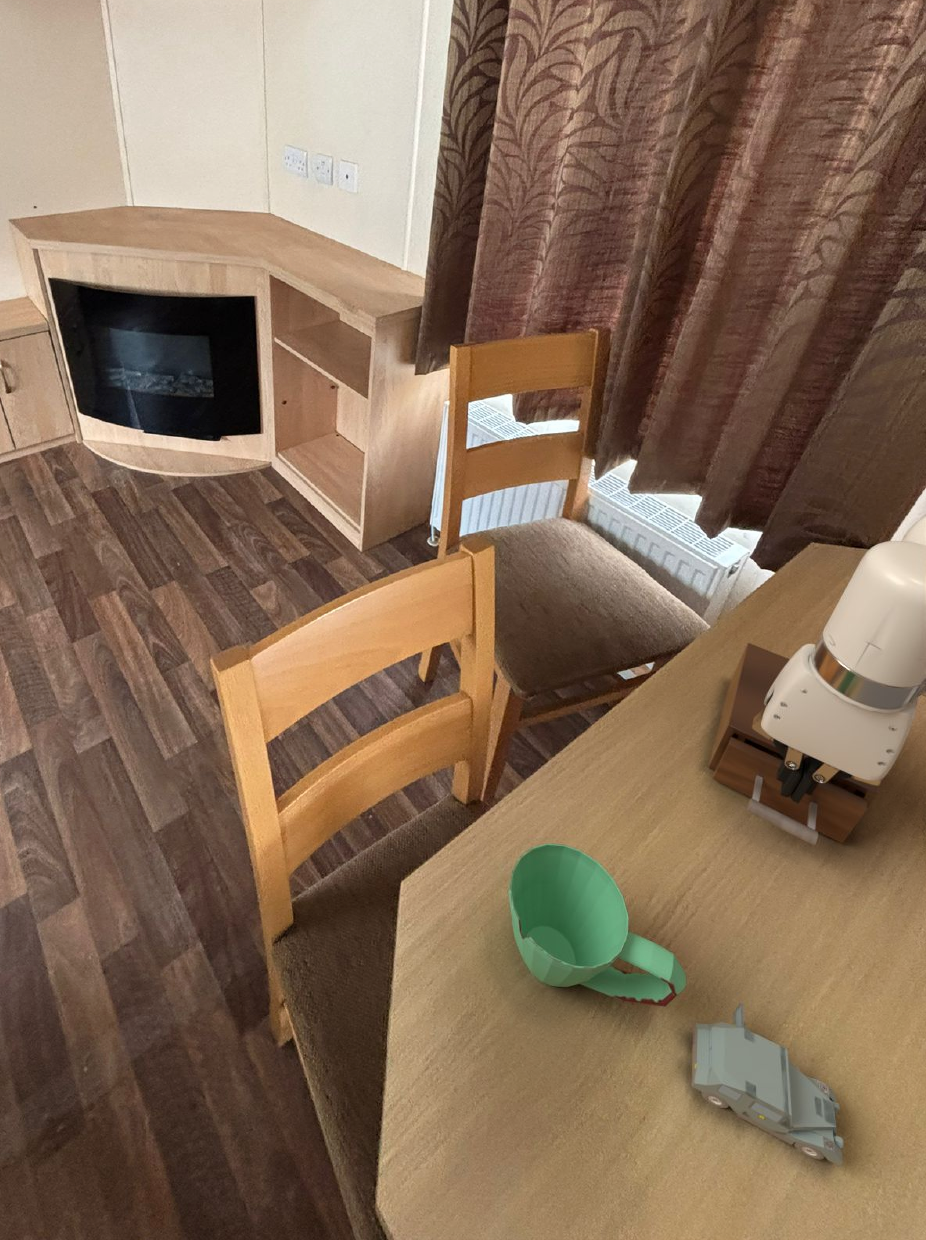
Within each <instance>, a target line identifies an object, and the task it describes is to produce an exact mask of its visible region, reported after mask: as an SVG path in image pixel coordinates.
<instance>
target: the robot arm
mask: <svg viewBox="0 0 926 1240" xmlns="http://www.w3.org/2000/svg"><path fill="white" fill-rule="evenodd" d="M789 659H790V660H789V661H788V663H787V664H786V665H785V666H784V668H783V669H782V671H781V672H780V673H779V675H778V677H777V678H776V680H775V681H774V683H773V684H772V686H771V688H770V689H769V691H768V693H767V695H766V698H765V701H764V705H766V707H765V708H764V709H763V710H762V711H761V712H759V713H758V714H757V715H756V716H755V717H754V718H753V723H752V728H753V730H755V731H756V732H758V733H759V734H761V735H762V736H764V737H765V738H767V739H768V740H772V741H773V743H774V745H775V746H776V748H777V749H778V750H779V752H780V753H781V755H782V756H783V758H784V760H783V762H782V763H781V765H780V767H779V769H778V772H777V777H776V780H778V781H780V782H782V785H781V792H780V795H782V796H784V797H790V795H791V797H790V798H791V799H792V801H794V802H796V803H798V804H799V802H800V801H801V799H802V797H803V796H804V794H807V795H809V796H811V795H812V793H813V792H814V790H815V789H816V787H817V785H818V784H819V783H826V782H827V781H828V780H829V779H840V778H851V777H852V778H854V779H855V780H858V781H862V782H865V783H868V784H871V785H875V786H878V787H879V786H880V785H881V783H882V780H883V779H884V778H885V777H886V776H887V775H888V774H889V772H890V771H891V769H892V768H893V766H894V764H895V762H896V760H897V759H898V757H899V755H900V753H901V751H902V749H903V747H904V745H905V742H906V741H907V738H908V736H909V733H910V731H911V729H912V726H913V723H914V720H915V716H916V712H917V709H918V703H919V698H920V696H924V697H926V514H924V515H923V516H922V517H921V518H920V519H918V520H917V521H916V522H915V523H914V524H912V525H911V527H909V529H908V530H907V531H906V533H905V534H904V535H903V537H902V539H901V540H888V541H884V542H883V541H882V542H880V543H877V544H875V545H874V546H872V547H870V549H868V550H867V551H866V552H865V553H864V554H863V556H862V558H861V560H860V561H859V563H858V565H857V567H856V569H855V571H854V573H853V574H852V576H851V578H850V580H849V582H848V584H847V586H846V587H845V589H844V591H843V593H842V595H841V597H840V599H839V600H838V602H837V604H836V606H835V608H834V610H833V611H832V613H831V615H830V617H829V619H828V621H827V623H826V625H825V626H824V628H823V630H822V632H821V634H820V636H819V638H818V639H817V642H816V643H815V644H814V643H806V644H804V645H803V646H801V647H800V648H799V649H798V650H797V651H796V652H795V653H794V654H793V655H792V656H791V657H790V658H789ZM804 753H805V754H807V755H809V756H808V757H805V759H804Z"/></svg>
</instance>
